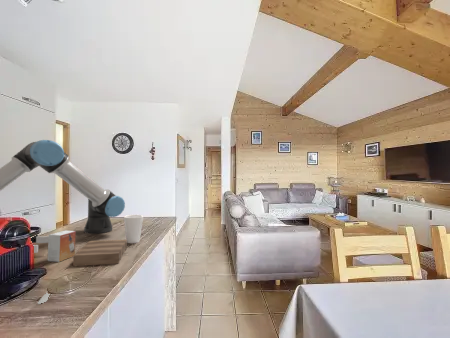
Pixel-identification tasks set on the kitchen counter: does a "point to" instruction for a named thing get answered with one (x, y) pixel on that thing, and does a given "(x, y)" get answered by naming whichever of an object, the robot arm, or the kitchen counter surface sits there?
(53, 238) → the small box
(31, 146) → the robot arm
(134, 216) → the foam cup
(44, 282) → the kitchen counter surface
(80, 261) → the walnut plinth
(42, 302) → the butter knife
